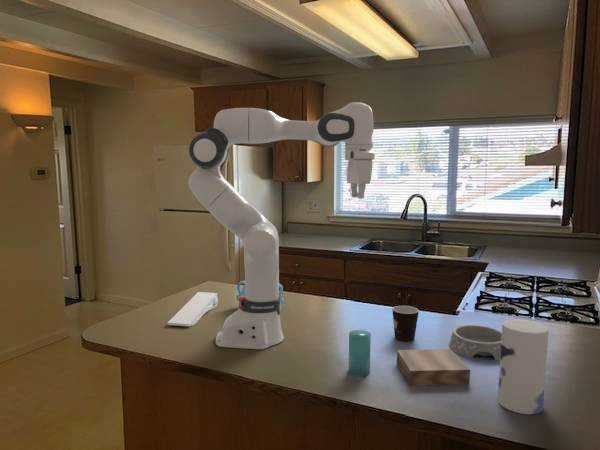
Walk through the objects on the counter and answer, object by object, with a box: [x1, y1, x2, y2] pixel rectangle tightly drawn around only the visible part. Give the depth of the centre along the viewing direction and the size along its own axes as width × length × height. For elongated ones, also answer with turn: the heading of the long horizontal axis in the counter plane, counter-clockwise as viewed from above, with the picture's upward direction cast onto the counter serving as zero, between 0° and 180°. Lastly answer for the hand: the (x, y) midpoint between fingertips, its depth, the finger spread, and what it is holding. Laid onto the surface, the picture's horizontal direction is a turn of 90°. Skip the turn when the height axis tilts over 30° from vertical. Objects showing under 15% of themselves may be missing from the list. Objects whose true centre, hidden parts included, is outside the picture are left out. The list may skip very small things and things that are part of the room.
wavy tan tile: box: [396, 348, 471, 386], centre depth 132 cm, size 16×14×4 cm
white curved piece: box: [167, 291, 219, 327], centre depth 182 cm, size 10×7×28 cm
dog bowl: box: [448, 324, 502, 361], centre depth 150 cm, size 17×18×5 cm
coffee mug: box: [391, 305, 420, 343], centre depth 159 cm, size 12×9×10 cm
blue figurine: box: [236, 280, 285, 305], centre depth 189 cm, size 16×16×14 cm
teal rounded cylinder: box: [348, 329, 372, 377], centre depth 132 cm, size 6×6×11 cm
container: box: [497, 318, 550, 415], centre depth 114 cm, size 10×10×20 cm
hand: (357, 198), depth 152 cm, fingers open, 8 cm apart
